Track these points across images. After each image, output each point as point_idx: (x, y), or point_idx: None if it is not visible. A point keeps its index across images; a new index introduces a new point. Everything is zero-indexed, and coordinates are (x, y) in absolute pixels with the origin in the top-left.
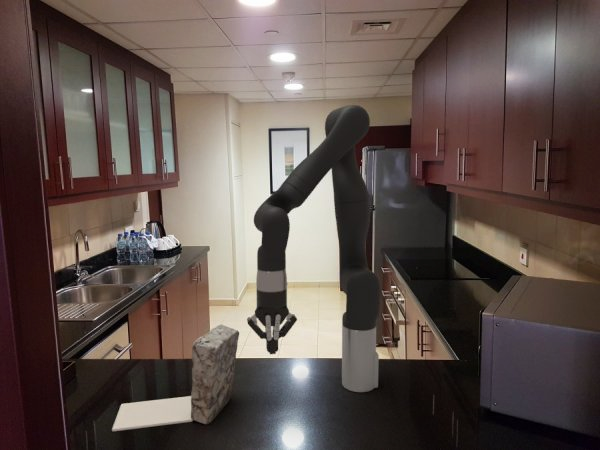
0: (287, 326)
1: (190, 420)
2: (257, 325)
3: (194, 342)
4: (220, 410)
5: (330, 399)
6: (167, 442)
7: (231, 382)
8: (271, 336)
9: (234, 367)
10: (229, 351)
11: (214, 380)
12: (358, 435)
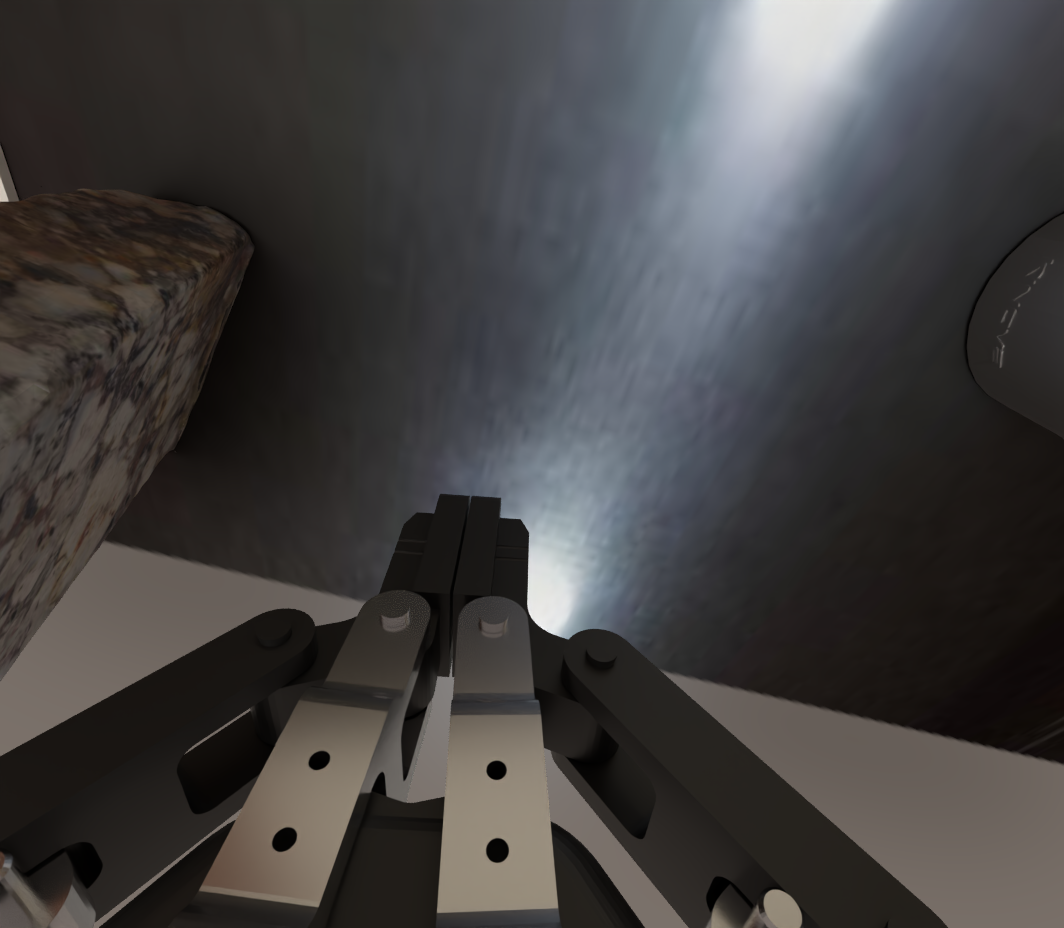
0: (663, 883)
1: None
2: (137, 777)
3: None
4: (210, 354)
5: (812, 415)
6: None
7: (202, 296)
8: (422, 730)
9: (162, 310)
10: None
11: (41, 620)
12: (761, 655)
